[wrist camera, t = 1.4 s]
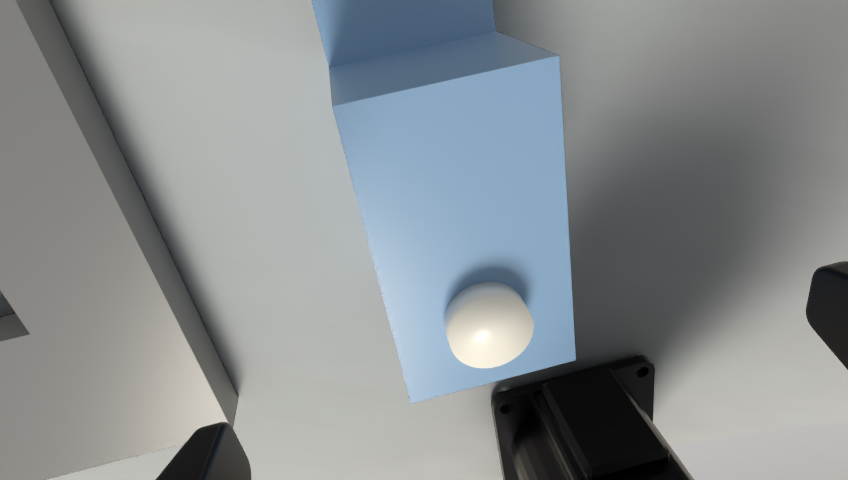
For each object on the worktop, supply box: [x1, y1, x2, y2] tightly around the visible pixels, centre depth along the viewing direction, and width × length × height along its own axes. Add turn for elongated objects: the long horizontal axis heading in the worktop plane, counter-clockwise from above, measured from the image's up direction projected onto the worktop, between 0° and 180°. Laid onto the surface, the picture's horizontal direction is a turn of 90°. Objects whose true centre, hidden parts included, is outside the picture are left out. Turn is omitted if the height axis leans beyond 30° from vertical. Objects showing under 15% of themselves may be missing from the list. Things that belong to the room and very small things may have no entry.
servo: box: [312, 0, 576, 404], centre depth 13 cm, size 4×11×7 cm, turn 11°
